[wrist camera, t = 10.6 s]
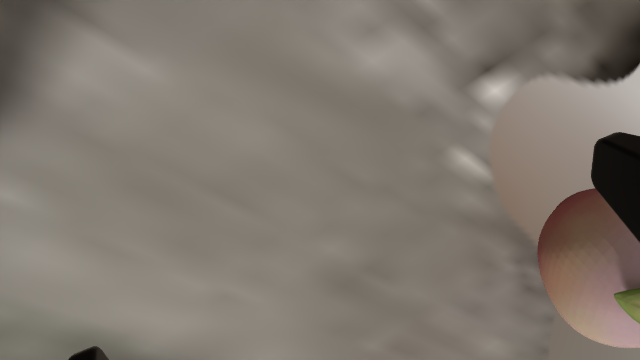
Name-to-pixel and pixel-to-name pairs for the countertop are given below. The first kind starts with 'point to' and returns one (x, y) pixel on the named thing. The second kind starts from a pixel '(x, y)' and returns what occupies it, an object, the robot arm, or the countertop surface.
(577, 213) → the decorative fruit
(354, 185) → the countertop surface
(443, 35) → the countertop surface
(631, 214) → the robot arm
